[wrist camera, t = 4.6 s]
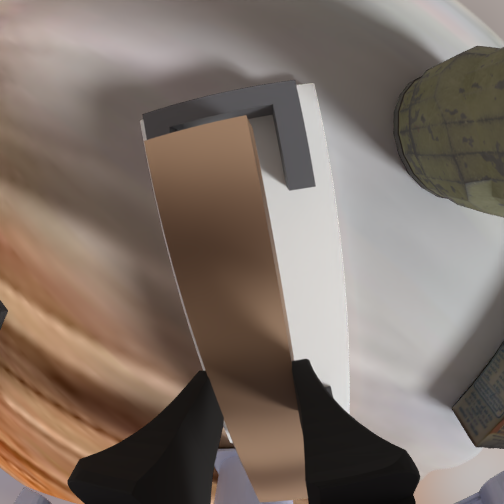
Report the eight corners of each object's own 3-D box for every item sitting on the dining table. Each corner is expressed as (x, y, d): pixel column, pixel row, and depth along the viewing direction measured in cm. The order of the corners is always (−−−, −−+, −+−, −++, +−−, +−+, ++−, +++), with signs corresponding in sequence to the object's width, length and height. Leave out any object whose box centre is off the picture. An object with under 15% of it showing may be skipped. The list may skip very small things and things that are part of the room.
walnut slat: (308, 457, 17) (311, 497, 14) (261, 462, 17) (259, 502, 14) (252, 127, 12) (245, 115, 8) (176, 144, 12) (143, 141, 9)
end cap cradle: (346, 416, 23) (355, 455, 18) (232, 430, 24) (226, 469, 19) (310, 89, 16) (322, 66, 12) (149, 123, 17) (116, 114, 13)
